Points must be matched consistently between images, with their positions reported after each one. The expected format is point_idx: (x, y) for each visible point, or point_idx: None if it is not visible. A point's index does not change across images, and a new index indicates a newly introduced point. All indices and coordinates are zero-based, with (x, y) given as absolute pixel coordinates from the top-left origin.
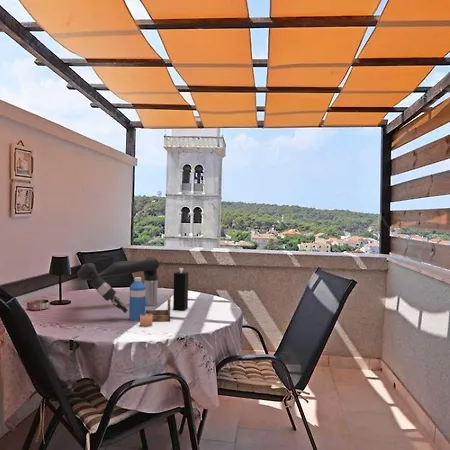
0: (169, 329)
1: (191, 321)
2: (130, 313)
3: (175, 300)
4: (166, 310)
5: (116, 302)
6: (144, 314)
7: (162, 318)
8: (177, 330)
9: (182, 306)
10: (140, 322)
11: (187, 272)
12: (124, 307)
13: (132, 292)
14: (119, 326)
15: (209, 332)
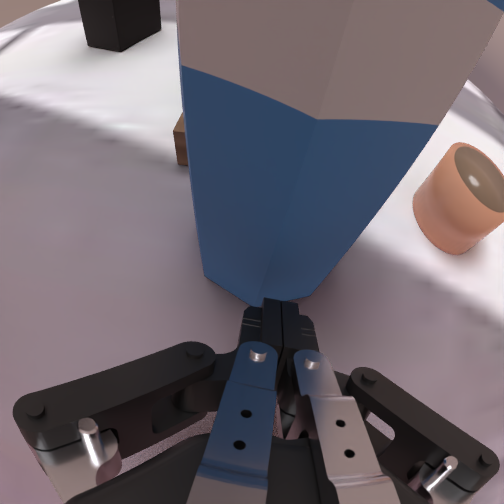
0: (483, 151)
1: None
2: (300, 279)
3: (122, 5)
4: None
5: (491, 463)
6: (482, 185)
7: None
8: (486, 135)
9: (153, 16)
10: (477, 242)
11: None
12: (301, 335)
13: (482, 41)
14: (467, 394)
15: (474, 85)
